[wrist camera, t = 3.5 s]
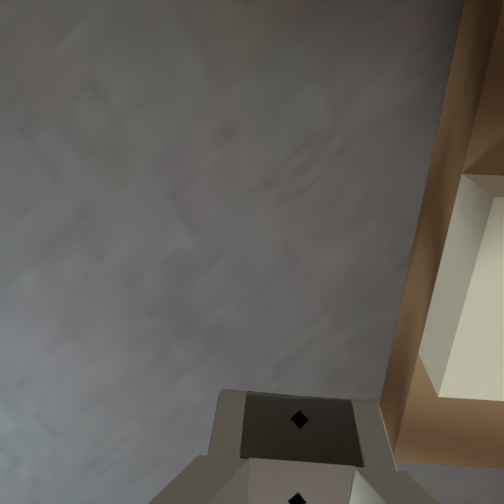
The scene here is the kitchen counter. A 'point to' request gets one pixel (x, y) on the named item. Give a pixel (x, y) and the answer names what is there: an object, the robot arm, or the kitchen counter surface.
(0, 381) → the kitchen counter surface
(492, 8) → the board
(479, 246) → the cream rectangular block
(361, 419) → the robot arm
